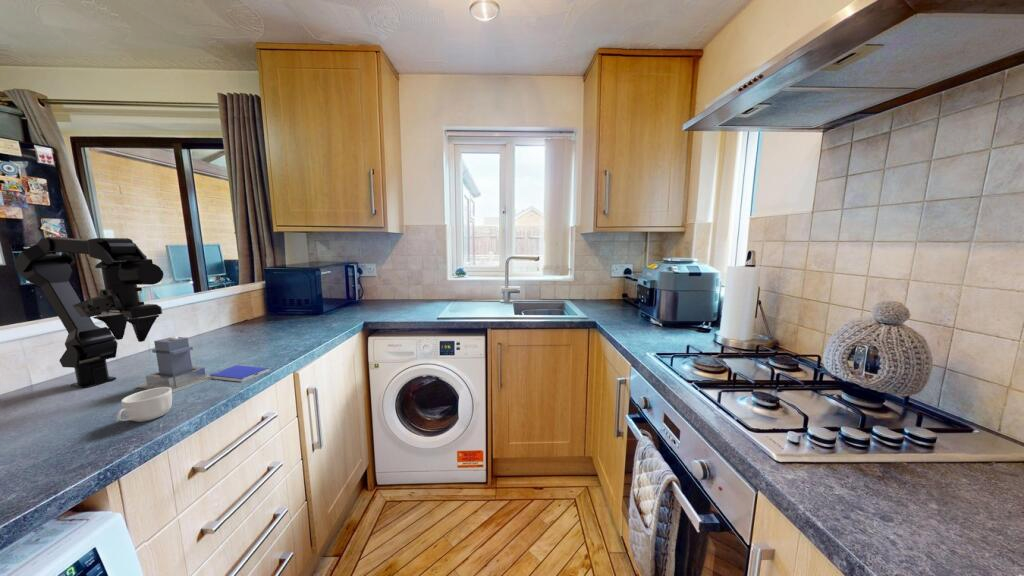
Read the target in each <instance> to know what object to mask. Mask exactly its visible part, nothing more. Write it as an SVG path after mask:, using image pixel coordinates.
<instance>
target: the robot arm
mask: <svg viewBox="0 0 1024 576" xmlns="http://www.w3.org/2000/svg"><path fill="white" fill-rule="evenodd" d="M50 253H51V254H50ZM52 253H55V254H52ZM58 253H62V254H58ZM73 254H82V255H83V254H84V255H89V257H90V258H92V259H96V260H99V262H98V263H96V264H95V266H94V268H95V269H100V270H101V274H102V280H103V285H104V288H103V289H100V291H99V295H98V296H95V297H91V298H88V299H85V300H83V301H81V300H80V298H79V295H77V292H76V291H75V290H74V287H72V284H71V283H70V280H69V279H70V277H71V275H72V272H73V271H72V270H73V269H72V268H71V266H72V265H73V264H74V262H75V261H76V258H75V256H74V255H73ZM13 265H14V269H15V270H16V271H17V272H18V273H19V274H20V276H22V277H23V279H24V280H25V281H27V282H29V283H31V284H33V285H35V286H37V287H40V288H41V290H42V292H43V293H44V295H45V297H46V298H47V301H49V303H50V306H51V307H52V309H53V310H54V312H55V313H56V315H57V317H58V318H59V320H60V322H61V323H62V325H63V327H64V329H65V331H67V336H66V339H65V342H64V346H65V348H66V349H65V351H64V353H63V354H62V355H61V356H60V358H59V363H60V365H61V366H62V368H74V374H75V379H76V382H72V383H71V384H70V387H75V388H82V389H87V388H90V387H92V386H97V385H100V384H103V383H106V382H111V381H114V380H116V379H117V377H114V376H110V375H109V370H108V363H107V360H111V359H115V358H116V357H117V351H118V341H119V340H123V338H124V335H125V332H126V328H127V324H128V323H129V324H130V325H131V326H132V328H133V331H134V335H135V336H136V340H137V341H138V343H141V342H145V341H146V339H147V338H148V335H149V333H150V330H151V329H152V326H153V325H154V323H155V322H156V320H157V318H160V315H162V314H163V309H162V306H160V305H158V304H157V303H156V304H153V303H145V301H140V296H139V292H143V289H142V287H141V286H142V285H144V286H145V285H148V286H149V285H151V286H152V285H156V284H157V285H158V283H160V282H161V281H163V278H164V272H163V270H162V268H161V267H160V265H157V264H156V263H155V264H154V262H153V259H151V258H150V259H149V258H147V255H146V254H144V253H143V251H142V250H141V249H140V248H139V246H138V245H137V244H136V243H135V242H134V241H133V240H132V239H131V238H127V237H125V238H124V237H123V238H120V237H95V238H88V239H84V238H70V237H67V236H65V237H63V236H45V237H41V238H40V239H39V241H38V242H37V243H36V244H34V245H31V246H29V247H28V248H26V249H24V250H22V251H21V252H20V253H19V255H18V256H17V257H16V259H15V260H14V264H13ZM140 285H141V286H140ZM139 286H140V287H139ZM92 318H93V319H96V320H98V321H100V322H104V324H105V325H106V326H104V327H101V326H98V325H96V324H95V323H94V321H93V319H92Z"/></svg>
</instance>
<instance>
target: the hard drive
mask: <svg viewBox="0 0 1024 576" xmlns="http://www.w3.org/2000/svg"><path fill="white" fill-rule="evenodd" d="M268 372H270V368H269V367H258V366H249V365H241V364H236V365H234V366H230V367H226V368H224V369H221V370H218V371H215V372H212V373H210V374H209V375H210V376H213V377H214V379H215V380H225V381H231V382H241V383H243V382H246V381H248V380H251V379H253V378H255V377H258V376H261V375H263V374H266V373H268ZM214 379H213V380H214Z"/></svg>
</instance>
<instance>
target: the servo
mask: <svg viewBox="0 0 1024 576" xmlns="http://www.w3.org/2000/svg"><path fill="white" fill-rule="evenodd" d="M153 342H154V348H153V349H152V350H151V352H152V353H154V354H156V360H157V367H158V372H159V374H160V375H162V376H169V377H173V376H176V375H180V374H183V373H186V372H189V371H193V370H192V366H193V365H192V360H191V359H192V358H191V352H190V351H193V350H194V348H193V346H190V343H189V338H188V337H182V336H177V335H176V336H171V337H167V338H163V339H157V340H153Z"/></svg>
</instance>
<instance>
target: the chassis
mask: <svg viewBox="0 0 1024 576" xmlns="http://www.w3.org/2000/svg"><path fill="white" fill-rule="evenodd" d="M192 370H193V371H189V372H186V373H183V374H180V375H176V376H173V377H169V376H162V375H160V374H159V371H157V372H153V373H149V374H147V375H145V382H141V383H139V384H137V388H139V389H140V388H141V389H145V390H149V389H154V388H160V387H169V388H171V389H172V394H173V393H177V392H179V391H181V390H184V389H187V388H191V387H193V386H196V385H199V384H202V383H205V382H207V381H211V380H214V377H213V376H210V374H208V373H207V374H206V371H205V370H206V369H205V367H202V366H201V367H200V366H194V365H192Z"/></svg>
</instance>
